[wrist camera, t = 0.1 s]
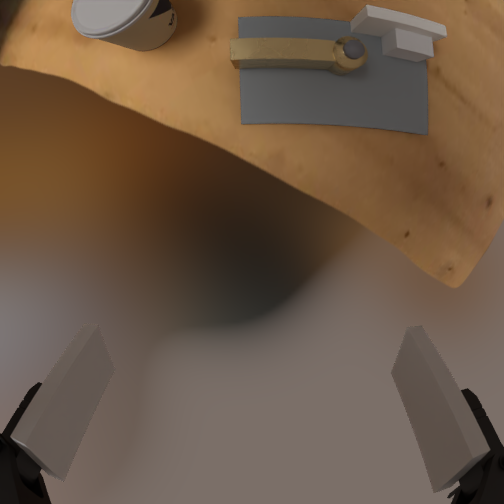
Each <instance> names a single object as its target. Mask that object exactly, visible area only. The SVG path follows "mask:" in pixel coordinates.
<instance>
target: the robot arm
mask: <svg viewBox="0 0 504 504" xmlns="http://www.w3.org/2000/svg"><path fill="white" fill-rule="evenodd" d="M114 371H115V367H114V365H113V362H112V360H111V357H110V355H109V352H108V350H107V347H106V344H105V342H104V339H103V336H102V334H101V331H100V328H99V325H95V324H87V323H85V324H84V325H83V326H82V328H81V329H80V331H79V332H78V333H77V335H76V336H75V337H74V339H73V340H72V342H71V343H70V344H69V346H68V347H67V348H66V350H65V351H64V353H63V354H62V356H61V357H60V358H59V360H58V361H57V363H56V364H55V366H54V367H53V369H52V370H51V371H50V373H49V375H48V376H47V378H46V379H45V381H44V382H43V384H42V383H39V382H38V383H37V384H36V385H34V386H33V387H32V388H31V389H30V390H29V391H28V392H27V394H26V396H25V397H24V400H23V401H22V402H21V403H20V405H19V408H17V410H16V411H15V413H14V415H13V416H12V418H11V419H10V421H9V423H8V424H7V426H6V428H5V430H4V431H3V433H2V434H0V504H51V501H50V498H49V496H48V492H47V489H46V486H45V483H44V479H43V477H42V475H41V473H40V471H41V469H43V470H44V471H45V472H46V473H47V474H48V475H50V476H52V477H54V478H57V479H59V480H61V481H63V482H64V481H65V478H66V476H67V473H68V471H69V468H70V466H71V464H72V461H73V459H74V457H75V454H76V452H77V450H78V447H79V445H80V443H81V441H82V438H83V436H84V434H85V432H86V429H87V427H88V425H89V423H90V420H91V419H92V416H93V414H94V412H95V410H96V408H97V406H98V404H99V402H100V399H101V397H102V395H103V393H104V391H105V389H106V387H107V385H108V383H109V381H110V379H111V377H112V375H113V373H114ZM391 374H392V377H393V379H394V382H395V384H396V387H397V389H398V392H399V394H400V396H401V399H402V402H403V404H404V407H405V409H406V412H407V415H408V417H409V420H410V423H411V425H412V428H413V431H414V434H415V437H416V440H417V442H418V445H419V448H420V451H421V454H422V457H423V460H424V463H425V466H426V469H427V473H428V476H429V479H430V482H431V486H432V489H433V493H436V492H438V491H441V490H444V489H446V488H449V487H451V486H452V485H453V484H455V483H456V482H457V481H458V480H459V483H460V486H458V487H457V488H456V489H455V490H454V491H452V492H451V493H450V494H449V495H448V497H447V498H450V497H452V496H453V495H454V494H455V495H454V498H453V500H452V502H451V504H504V447H503V445H502V444H501V442H500V440H499V438H498V436H497V434H496V432H495V430H494V428H493V426H492V424H491V422H490V420H489V418H488V416H486V412H485V410H484V409H483V408H482V405H481V403H480V401H479V399H478V398H477V396H476V395H475V394H474V393H472V392H471V391H470V390H469V389H468V388H467V389H464V390H460V389H459V387H458V385H457V383H456V381H455V379H454V378H453V376H452V374H451V372H450V371H449V369H448V367H447V366H446V364H445V362H444V361H443V359H442V357H441V355H440V354H439V352H438V351H437V349H436V347H435V346H434V344H433V343H432V341H431V339H430V338H429V336H428V334H427V333H426V331H425V330H424V328H423V327H422V326H415V327H407V329H406V332H405V335H404V338H403V341H402V344H401V347H400V350H399V353H398V355H397V358H396V361H395V363H394V366H393V369H392V371H391Z"/></svg>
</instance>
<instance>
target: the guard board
mask: <svg viewBox="0 0 504 504" xmlns="http://www.w3.org/2000/svg"><path fill="white" fill-rule="evenodd" d="M238 26H239V38H306V39H321V40H332V41H335V42H336V41H337V40H338V39H339V38H341V37H344V36H351V37H355V38H357V39H359V40H360V41H361V42H362V43H363V44H364V45H365V46H366V48H367V51H368V58H367V61H366V62H365V64H363V65H362V66H360V67H358V68H357V69H355V70H353V71H351V72H350V73H348V74H346V75H341V76H340V75H335V74H332V73H331V72H329V71H328V70H322V69H305V68H242V69H240V96H241V124H266V123H290V124H324V125H341V126H355V127H367V128H377V129H386V130H394V131H402V132H409V133H416V134H422V135H428V84H427V67H426V59H429V58H432V57H434V52H433V43H432V42H434V41H437V40H440V39H442V38H445V37H447V33H446V26H444V25H442V24H439V23H436V22H433V21H430V20H427V19H423V18H420V17H417V16H413V15H410V14H406V13H402V12H398V11H394V10H390V9H385V8H381V7H376V6H371V5H366V6H365V7H364V8H363V9H362V10H361V11H360V12H359V13H358V14H357V15H356V16H355V17H354V18H353V20H352V21H351V22H347V21H339V20H330V19H320V18H306V17H280V16H262V17H238ZM361 42H359V41H358V40H349V41H348V42H346V43H345V44H344V46H343V53H344V54H345V56H346V57H348V58H349V59H352V60H356V59H358V58H360V57H362V56H363V55H364V53H365V48H364V46H363V44H362V43H361Z"/></svg>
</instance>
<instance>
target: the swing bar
mask: <svg viewBox="0 0 504 504" xmlns="http://www.w3.org/2000/svg"><path fill="white" fill-rule="evenodd" d="M349 40H358V41H359V42H361V41H360V40H359V39H357V38H355V37H351V36H344V37H341V38H339V39H338V40H337V41H336V42H335V41H332V40H321V39H306V38H238V39H230V60H231V62H232V64H233V66H234V68H235V69H242V68H305V69H322V70H328V71H329V72H331V73H332V74H335V75H340V76H341V75H346V74H348V73H350V72H351V71H353V70H355V69H357V68H358V67H360V66H362V65H363V64H365V62H366V61H367V58H368V51H367V48H366V46H365V45H364V44H363V43H362V42H361V43H362V44H363V46H364V48H365V53H364V55H363V56H362V57H360V58H358V59H356V60H352V59H349V58H348V57H346V56H345V54H344V53H343V46H344V44H345V43H346V42H348V41H349Z"/></svg>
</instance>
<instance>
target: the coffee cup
mask: <svg viewBox="0 0 504 504" xmlns="http://www.w3.org/2000/svg"><path fill="white" fill-rule="evenodd" d="M71 17H72V21H73V24H74V26H75V28H76V30H77V31H78V32H79V33H80V34H82V35H84V36H86V37H89V38H94V39H99V40H103V41H106V42H110V43H113V44H116V45H120V46H123V47H126V48H129V49H133V50H137V51H147V50H152V49H154V48H157V47H159V46H161V45H162V44H164V43H165V42H166V41H167V40H168V39H169V38H170V37H171V36H172V34H173V33H174V31H175V29H176V25H177V15H176V12H175V10H174V8H173V6H172V4H171V3H170V1H169V0H74V2H73V5H72V10H71Z"/></svg>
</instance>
